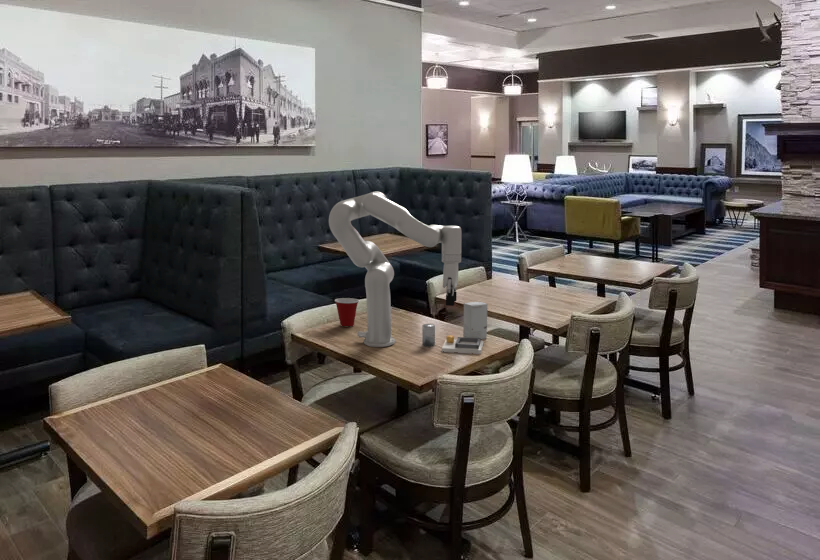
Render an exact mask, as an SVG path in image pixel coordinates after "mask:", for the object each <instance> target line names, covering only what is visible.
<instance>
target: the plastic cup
mask: <svg viewBox="0 0 820 560" xmlns="http://www.w3.org/2000/svg"><path fill="white" fill-rule="evenodd" d="M359 302H360V299H357V298H350V297H342V298H336V299H334V303H335V305H336V309H337V314H338V319H339V324H340V326H341V325H342V326H352V327H354V326H355V319H356V314H357V307H358V304H359ZM353 325H354V326H353ZM342 326H341V327H342Z"/></svg>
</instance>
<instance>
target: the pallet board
mask: <svg viewBox="0 0 820 560" xmlns="http://www.w3.org/2000/svg"><path fill="white" fill-rule="evenodd" d="M482 347H484V340H482V339H481V338H466V337H463V336H462V337H461V336H458V337H457V339H455V338H454V342H451V343H449V342H446V339H445V340H444V343H443V344H442V347H441V352H442V353H454V352H458V354H472V353H473V355H474V354H475V355H476V354H477V355H481V354H482V351H483V348H482ZM443 351H444V352H443Z"/></svg>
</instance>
